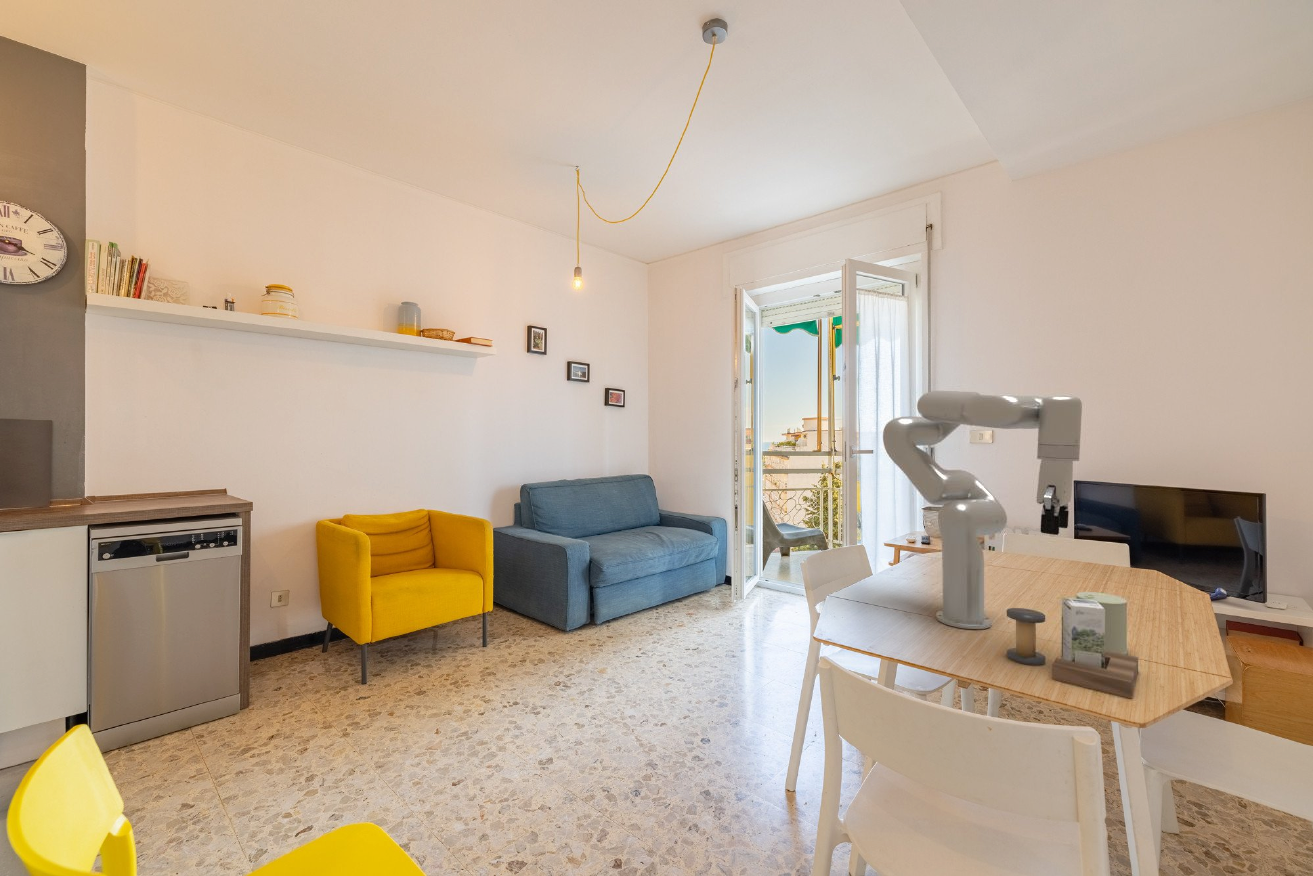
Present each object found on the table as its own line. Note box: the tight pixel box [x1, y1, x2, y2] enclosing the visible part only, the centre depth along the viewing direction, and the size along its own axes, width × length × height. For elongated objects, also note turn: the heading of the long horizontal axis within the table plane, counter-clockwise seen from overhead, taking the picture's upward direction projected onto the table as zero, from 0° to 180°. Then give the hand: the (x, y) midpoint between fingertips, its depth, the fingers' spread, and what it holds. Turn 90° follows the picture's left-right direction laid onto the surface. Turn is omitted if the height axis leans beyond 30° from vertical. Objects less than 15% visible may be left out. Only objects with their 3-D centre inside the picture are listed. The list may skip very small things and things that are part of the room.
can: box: [1075, 591, 1129, 655], centre depth 126 cm, size 9×9×12 cm
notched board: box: [1051, 650, 1139, 700], centre depth 112 cm, size 16×12×3 cm
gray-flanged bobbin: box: [1006, 607, 1047, 667], centre depth 120 cm, size 7×7×10 cm
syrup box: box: [1061, 597, 1105, 669], centre depth 114 cm, size 6×6×14 cm
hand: (1054, 530), depth 122 cm, fingers open, 9 cm apart
